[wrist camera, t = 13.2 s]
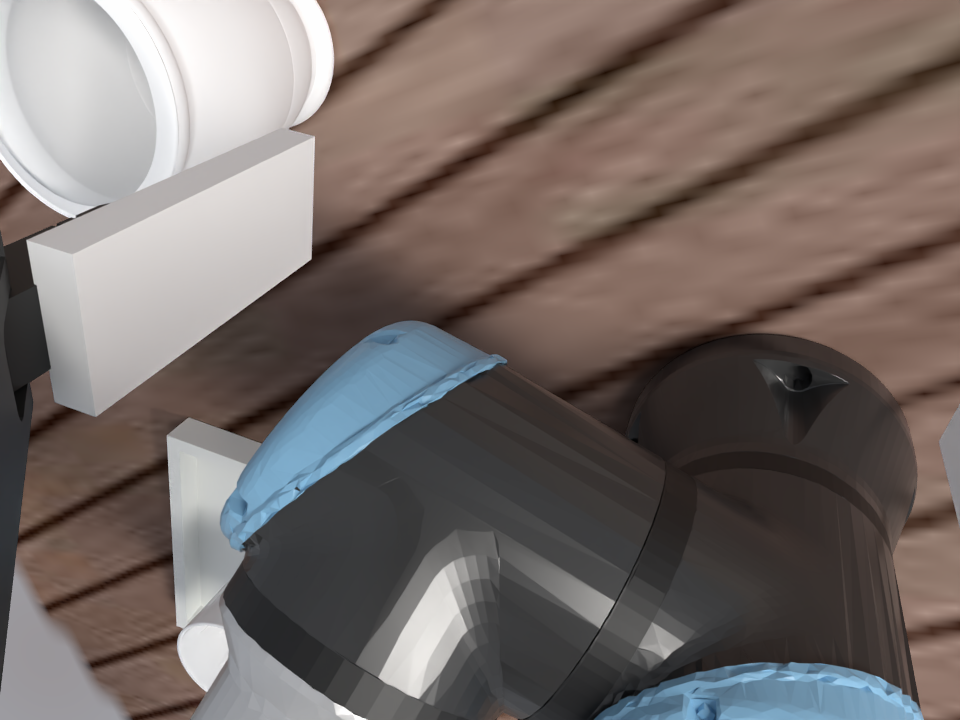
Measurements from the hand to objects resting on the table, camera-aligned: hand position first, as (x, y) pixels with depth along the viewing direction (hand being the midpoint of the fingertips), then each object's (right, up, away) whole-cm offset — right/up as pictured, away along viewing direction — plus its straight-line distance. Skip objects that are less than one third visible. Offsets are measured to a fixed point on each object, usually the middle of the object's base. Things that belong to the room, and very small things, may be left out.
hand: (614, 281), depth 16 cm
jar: (-14, +16, +29) cm, 36 cm away
